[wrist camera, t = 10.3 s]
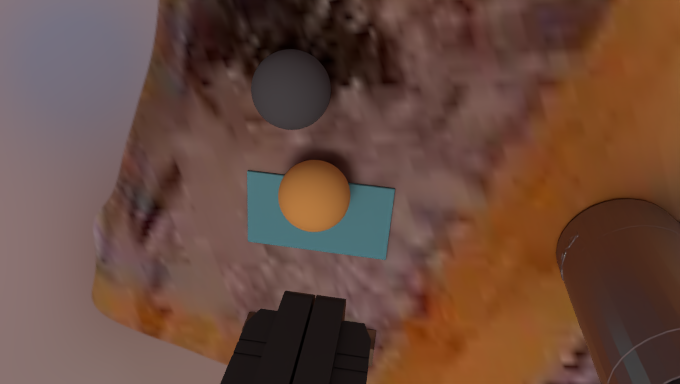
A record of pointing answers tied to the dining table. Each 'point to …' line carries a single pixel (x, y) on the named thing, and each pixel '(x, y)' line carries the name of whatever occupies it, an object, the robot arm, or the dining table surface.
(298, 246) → the teal mark
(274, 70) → the gray ball
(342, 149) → the dining table surface
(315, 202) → the orange ball
